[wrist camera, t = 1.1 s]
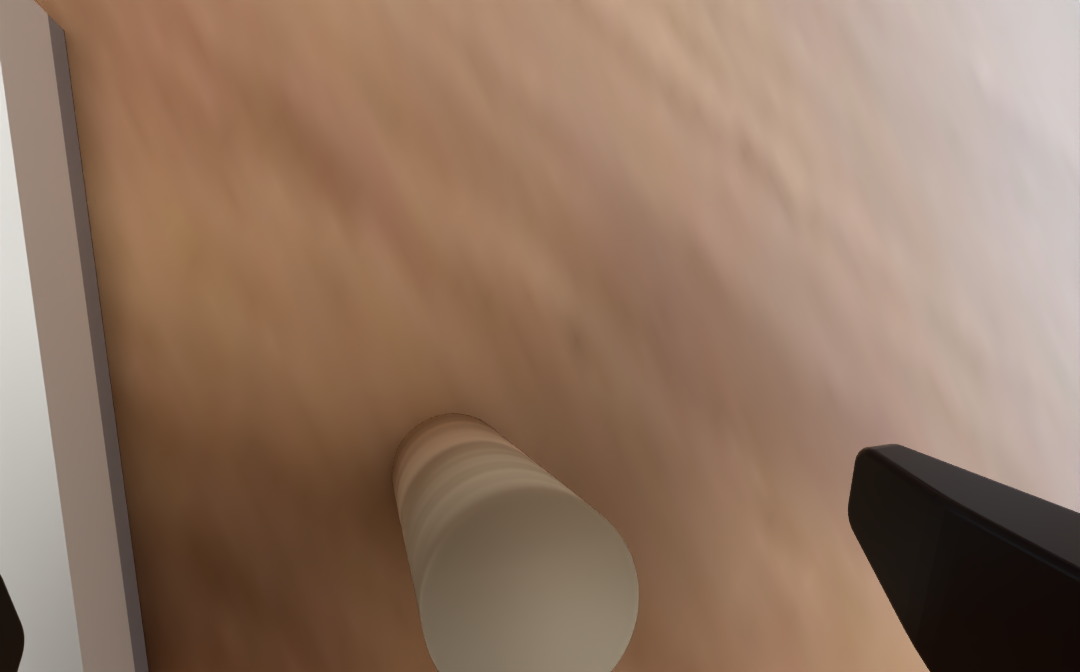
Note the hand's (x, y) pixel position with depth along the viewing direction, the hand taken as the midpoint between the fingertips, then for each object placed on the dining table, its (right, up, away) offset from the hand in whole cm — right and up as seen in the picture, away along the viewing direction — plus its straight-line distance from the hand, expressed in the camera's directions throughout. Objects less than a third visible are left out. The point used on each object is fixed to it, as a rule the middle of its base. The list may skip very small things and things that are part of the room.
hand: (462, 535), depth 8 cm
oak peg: (-2, -2, +13) cm, 13 cm away
